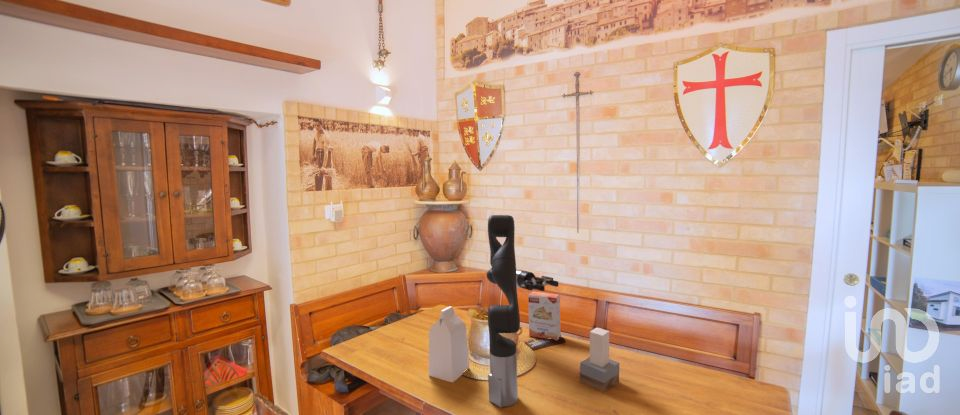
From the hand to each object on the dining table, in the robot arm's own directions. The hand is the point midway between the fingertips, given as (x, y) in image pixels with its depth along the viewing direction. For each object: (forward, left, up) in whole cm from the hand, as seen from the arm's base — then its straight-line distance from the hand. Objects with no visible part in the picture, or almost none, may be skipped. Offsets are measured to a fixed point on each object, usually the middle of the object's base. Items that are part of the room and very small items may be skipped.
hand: (551, 286), depth 159 cm
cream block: (0, -22, -24) cm, 33 cm away
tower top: (0, -22, -28) cm, 36 cm away
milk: (-36, +23, -32) cm, 53 cm away
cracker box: (+17, +19, -32) cm, 41 cm away
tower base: (+1, -22, -32) cm, 39 cm away
